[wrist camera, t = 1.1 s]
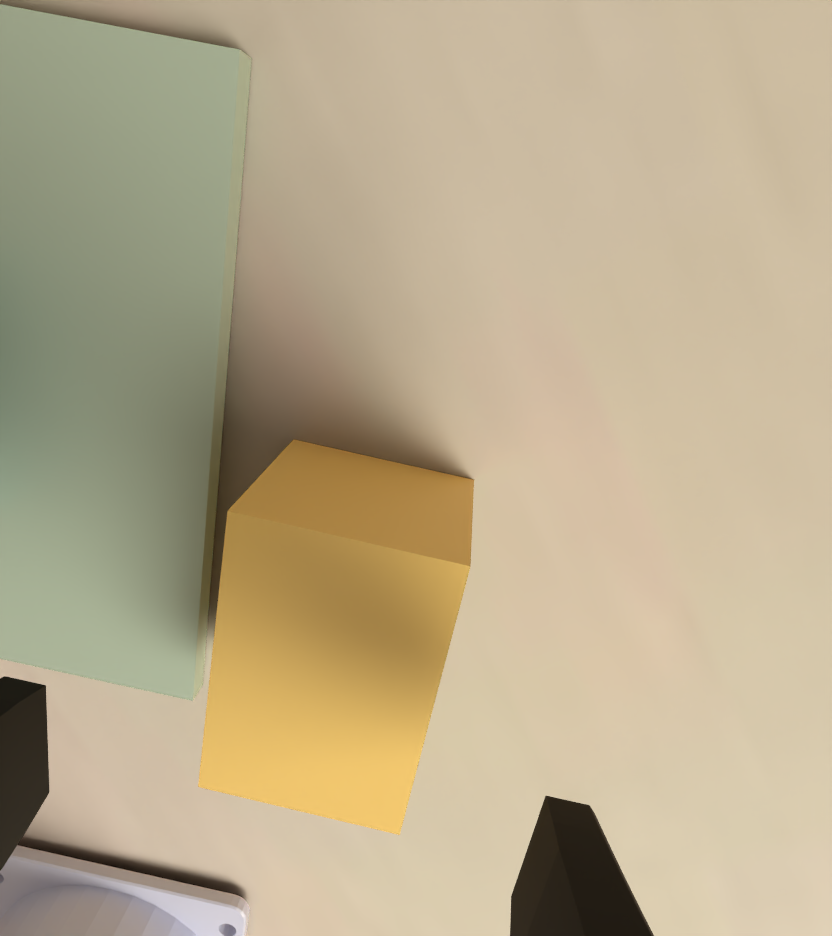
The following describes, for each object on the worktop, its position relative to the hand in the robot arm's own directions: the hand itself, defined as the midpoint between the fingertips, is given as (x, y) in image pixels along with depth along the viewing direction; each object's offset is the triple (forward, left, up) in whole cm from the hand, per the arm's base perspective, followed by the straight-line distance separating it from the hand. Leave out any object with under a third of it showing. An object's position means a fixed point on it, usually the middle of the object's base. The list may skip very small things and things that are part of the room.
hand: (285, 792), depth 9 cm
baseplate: (+3, +11, -6) cm, 13 cm away
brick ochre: (0, 0, -6) cm, 6 cm away
